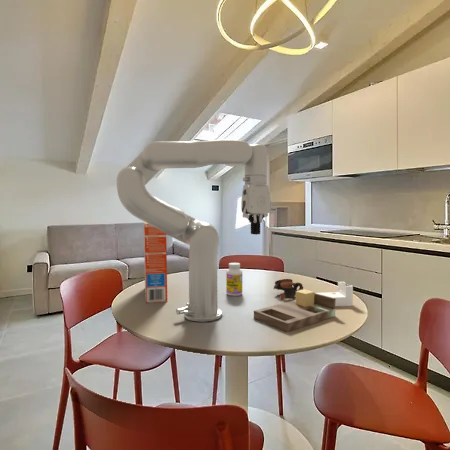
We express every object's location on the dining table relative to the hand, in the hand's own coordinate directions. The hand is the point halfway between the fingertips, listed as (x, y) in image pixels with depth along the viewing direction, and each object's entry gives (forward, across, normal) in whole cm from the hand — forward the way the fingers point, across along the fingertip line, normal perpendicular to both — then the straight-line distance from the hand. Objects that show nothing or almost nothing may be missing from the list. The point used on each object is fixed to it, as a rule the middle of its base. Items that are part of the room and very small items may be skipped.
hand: (255, 234), depth 120 cm
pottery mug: (+27, +22, +5) cm, 36 cm away
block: (+25, +13, -11) cm, 30 cm away
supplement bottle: (+27, +7, +21) cm, 35 cm away
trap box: (+27, +6, -14) cm, 31 cm away
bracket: (+28, +28, -11) cm, 41 cm away
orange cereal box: (+27, -19, +41) cm, 53 cm away
